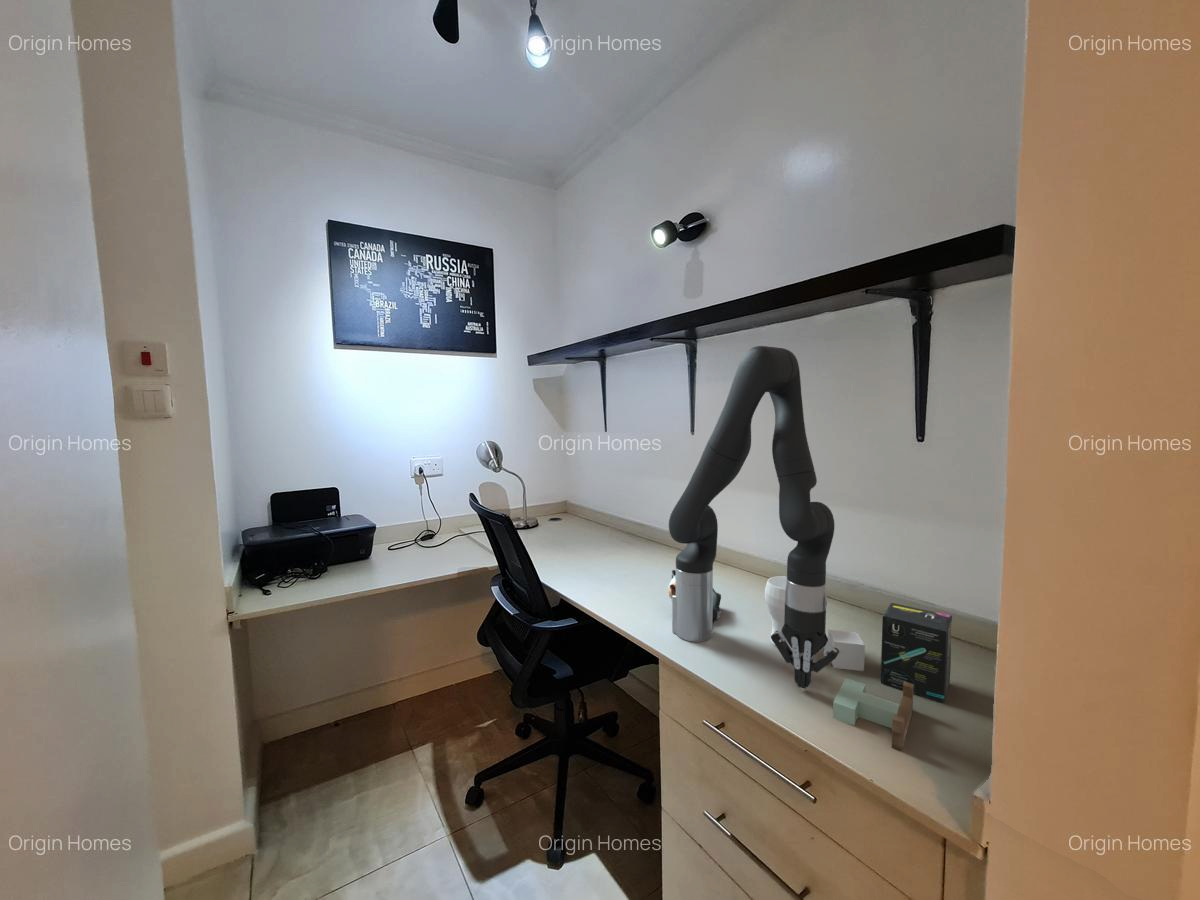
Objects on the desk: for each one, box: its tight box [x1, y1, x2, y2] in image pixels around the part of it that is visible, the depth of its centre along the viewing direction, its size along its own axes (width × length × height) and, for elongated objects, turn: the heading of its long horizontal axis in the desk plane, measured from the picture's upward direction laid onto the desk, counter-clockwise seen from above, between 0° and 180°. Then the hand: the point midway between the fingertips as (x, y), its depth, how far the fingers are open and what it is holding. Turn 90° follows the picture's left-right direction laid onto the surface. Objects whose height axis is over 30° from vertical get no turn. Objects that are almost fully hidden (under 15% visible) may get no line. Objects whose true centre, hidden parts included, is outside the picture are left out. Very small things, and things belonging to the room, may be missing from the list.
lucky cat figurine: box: [667, 569, 722, 624], centre depth 129 cm, size 15×12×14 cm
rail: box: [891, 681, 914, 752], centre depth 82 cm, size 2×14×5 cm, turn 140°
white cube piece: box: [827, 629, 866, 672], centre depth 103 cm, size 6×6×6 cm
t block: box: [832, 677, 900, 729], centre depth 85 cm, size 10×10×3 cm
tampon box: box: [880, 602, 953, 703], centre depth 95 cm, size 11×9×15 cm
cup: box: [764, 575, 792, 650], centre depth 112 cm, size 11×11×15 cm
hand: (802, 686), depth 93 cm, fingers closed
